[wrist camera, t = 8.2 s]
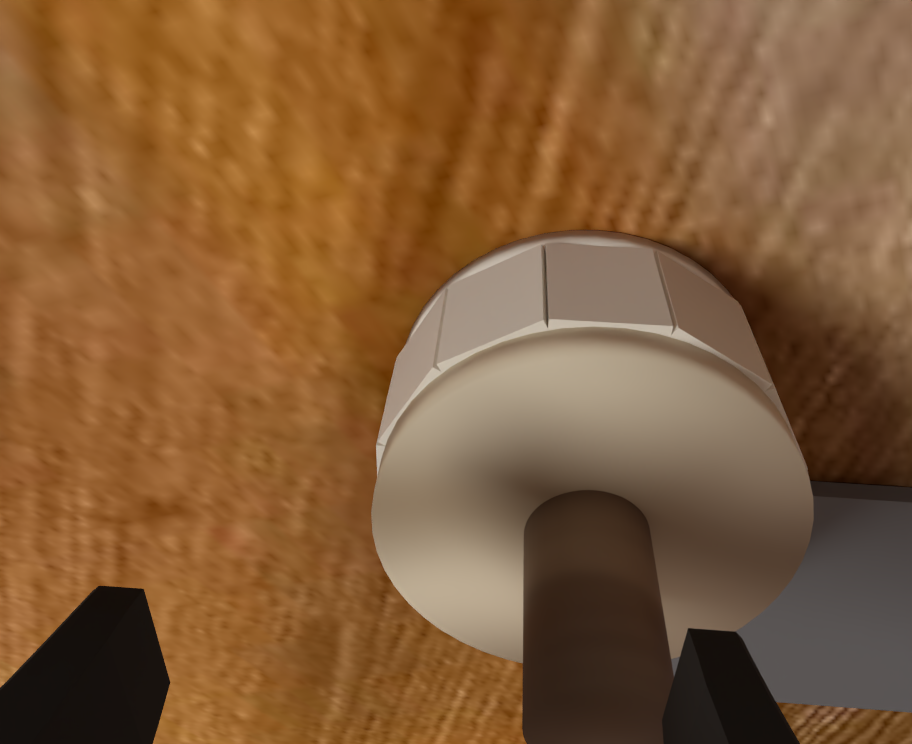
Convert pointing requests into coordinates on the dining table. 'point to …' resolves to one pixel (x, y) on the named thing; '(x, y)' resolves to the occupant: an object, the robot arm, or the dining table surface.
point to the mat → (844, 606)
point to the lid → (591, 516)
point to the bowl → (572, 307)
